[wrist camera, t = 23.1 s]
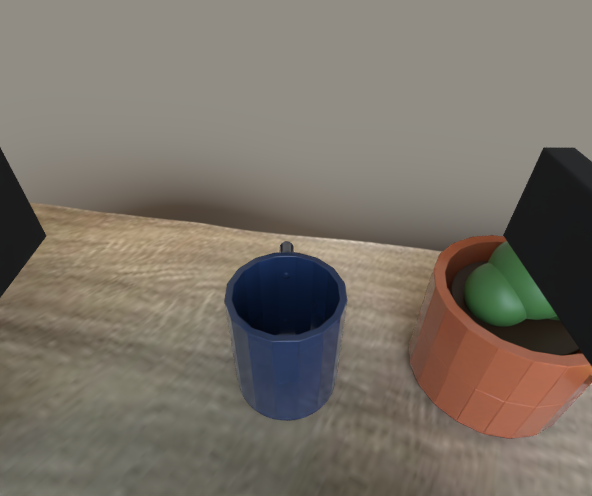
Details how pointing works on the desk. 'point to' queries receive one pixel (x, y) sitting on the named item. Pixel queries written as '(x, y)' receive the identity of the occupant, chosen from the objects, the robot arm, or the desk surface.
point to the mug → (286, 332)
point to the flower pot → (487, 360)
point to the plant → (510, 304)
